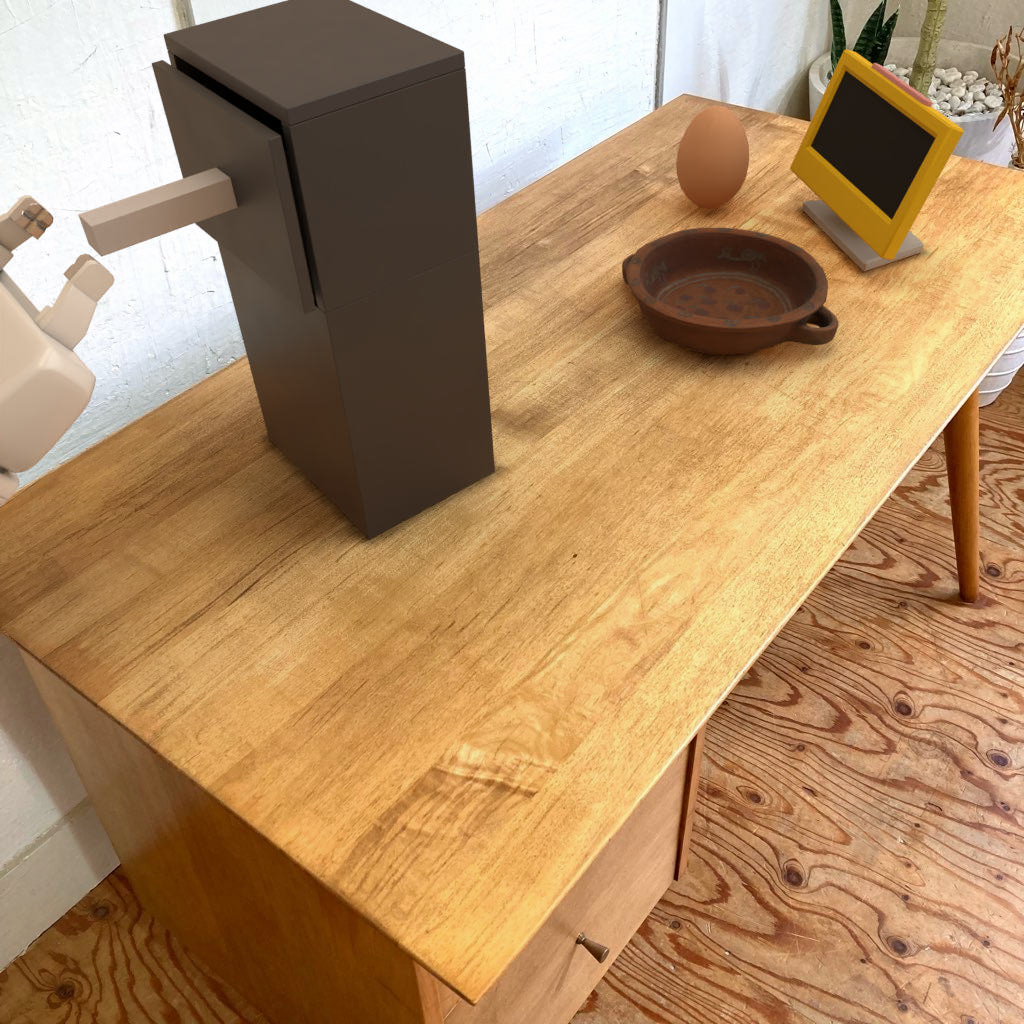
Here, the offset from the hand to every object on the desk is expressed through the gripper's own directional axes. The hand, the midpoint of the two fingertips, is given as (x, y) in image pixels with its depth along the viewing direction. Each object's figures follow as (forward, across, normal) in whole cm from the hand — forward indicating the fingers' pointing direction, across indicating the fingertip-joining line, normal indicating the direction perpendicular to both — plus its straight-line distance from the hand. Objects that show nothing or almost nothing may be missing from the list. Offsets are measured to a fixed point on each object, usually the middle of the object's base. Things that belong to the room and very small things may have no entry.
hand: (70, 233), depth 61 cm
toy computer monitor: (+52, +4, -60) cm, 80 cm away
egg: (+46, -12, -57) cm, 74 cm away
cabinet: (+2, 0, -32) cm, 32 cm away
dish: (+32, +5, -49) cm, 59 cm away
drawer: (+7, 0, -11) cm, 13 cm away
